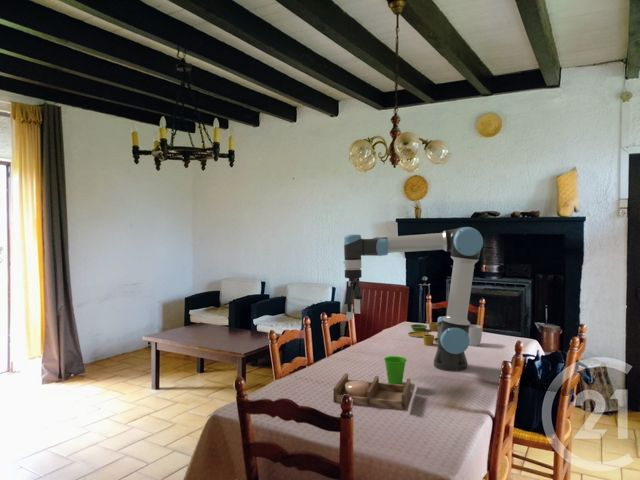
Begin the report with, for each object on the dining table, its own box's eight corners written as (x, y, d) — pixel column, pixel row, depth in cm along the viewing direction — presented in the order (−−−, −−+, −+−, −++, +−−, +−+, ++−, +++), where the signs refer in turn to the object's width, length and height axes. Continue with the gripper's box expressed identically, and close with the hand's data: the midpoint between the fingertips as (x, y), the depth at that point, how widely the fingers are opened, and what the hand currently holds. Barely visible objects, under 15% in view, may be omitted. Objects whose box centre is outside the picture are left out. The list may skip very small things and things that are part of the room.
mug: (480, 342, 258) (480, 324, 258) (482, 347, 249) (482, 328, 249) (456, 341, 261) (456, 324, 261) (457, 345, 252) (457, 327, 252)
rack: (410, 394, 181) (410, 379, 181) (405, 412, 164) (405, 395, 164) (345, 388, 189) (345, 373, 189) (333, 404, 172) (333, 388, 172)
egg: (370, 392, 181) (370, 382, 181) (366, 400, 173) (366, 389, 173) (348, 390, 184) (348, 380, 184) (342, 398, 175) (342, 387, 175)
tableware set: (459, 348, 250) (459, 336, 249) (406, 345, 255) (406, 334, 255) (454, 330, 290) (454, 320, 290) (408, 329, 296) (408, 319, 295)
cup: (406, 390, 186) (406, 362, 185) (383, 389, 188) (383, 361, 187) (406, 382, 195) (406, 356, 194) (384, 381, 196) (384, 355, 196)
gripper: (351, 266, 222) (352, 310, 223) (337, 271, 199) (337, 321, 199) (367, 266, 220) (367, 311, 221) (354, 271, 196) (355, 322, 197)
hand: (353, 316), depth 210 cm, fingers open, 13 cm apart
